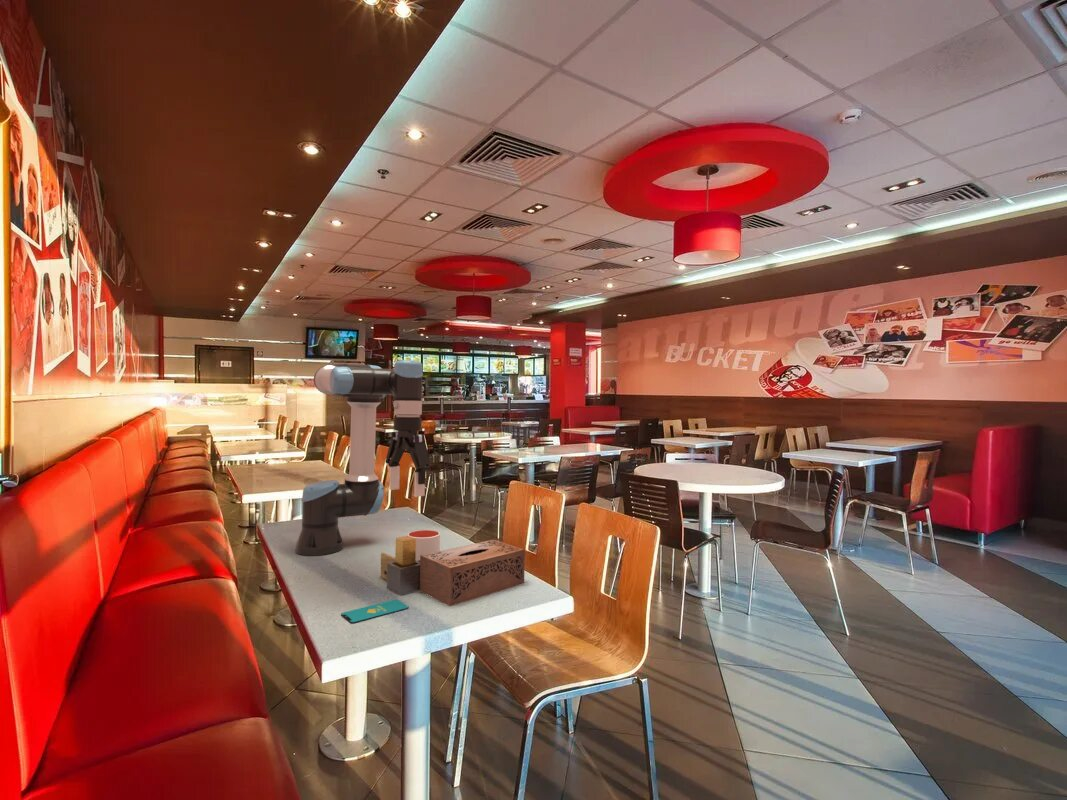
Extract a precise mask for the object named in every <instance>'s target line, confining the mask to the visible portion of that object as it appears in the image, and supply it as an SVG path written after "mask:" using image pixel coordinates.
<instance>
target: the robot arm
mask: <svg viewBox="0 0 1067 800" xmlns="http://www.w3.org/2000/svg"><path fill="white" fill-rule="evenodd" d="M423 377H424V373H423V364H422V362H421V361H419V360H409V359H408V360H407V359H406V360H405V359H403V360H402V359H401V360H396V361H395V363H394V368H382V367H380V366H378V365H374V364H373V365H372V364H355V363H350V364H349V363H331V364H326V365H323V366H321V367H320V368H318V369H317V370H316V371H315V373H314V375H313V384H314V387H315V388H316V389H317V390H318V391H319V392H320V393H322V394H324V395H327V396H332V397H338V398H346V403H347V404H348V405H349V406H350V408H351V410H350V435H349V437H350V439H349V440H350V442H349V469H348V470H349V473H348V475H346V476H345V477H344V483H340V482H339V481H338V480H337V479H330V480H329V479H327V480H320V481H316V482H312V483H309V484H307V485H306V486H304V488H303V489H302V496H301V497H302V499H301V502H302V504H301V505H302V507H301V511H302V513H301V515H302V516H301V517H302V519H301V531H300V533H299V536H298V538H297V541H296V545H295V552H296V554H299V555H303V556H323V555H329V554H334V553H337V552H340V551H342V550H343V549H344V541H343V538H342V534H341V532H340V527H339V518H349V517H358V516H368V515H375V514H376V513H378V512H379V511H380V510H381V508H382V504H383V501H384V495H385V494H384V493H385V492H384V484H383V483H382V481H379V476H378V475H377V474H376V473H375V460H376V459H375V457H376V455H375V454H376V430H377V429H376V428H377V425H376V424H377V407H378V406H379V405H381V404H382V399H384V398H386V396H393V397H394V398H393V400H394V402H393V403H394V404H393V405H392V406H393V410H394V411H393V415H395V416H394V418H393V430H394V432H393V431H392V432H391V437H390V442H389V446H388V450H387V454H386V457H385V464H388V467H389V491H393V490H394V491H395V490H400V478H401V477H400V471H401V469H400V468H401V467H400V466H401V464H400V462H401V460H402V457H403V455H404V453H405V451H407V453H409V455H410V458H411V461H412V462H413V465H414V467H415V470H414V484H413V485H414V489H413V491H414V492H413V493H414V494H413V495H414V497H416V498H417V497H425V495H426V494H425V493H426V491H425V490H426V488H425V487H426V485H425V484H426V472H427V471H430V470H431V463H430V459H429V456H428V455H429V454H428V451H427V447H426V443H425V442H426V441H425V435H424V434H418V431H421V429H422V418H421V415H423V413H422V412H423V403H422V402H423V400H422V399H423Z"/></svg>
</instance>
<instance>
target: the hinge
mask: <svg viewBox="0 0 1067 800" xmlns="http://www.w3.org/2000/svg"><path fill="white" fill-rule="evenodd" d="M380 578H383V579H385V580H386V589H387V590H389V591H391V592H393V593H394V594H397V595H398V596H403V595H407V594H411V593H414V591H415V592H418V591H419V592H420V560H417V561H416V563H415V565H413V566H408V567H404V568H401V567H398V566H396V565H395V557H394V556H393V555H389V554H388V553H386V552H381V553H380Z"/></svg>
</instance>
